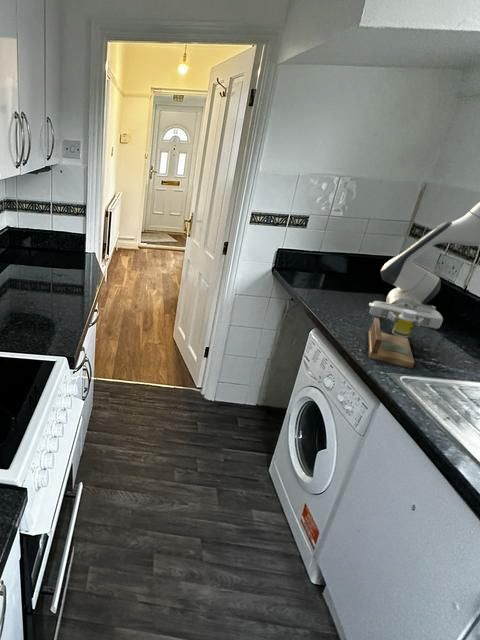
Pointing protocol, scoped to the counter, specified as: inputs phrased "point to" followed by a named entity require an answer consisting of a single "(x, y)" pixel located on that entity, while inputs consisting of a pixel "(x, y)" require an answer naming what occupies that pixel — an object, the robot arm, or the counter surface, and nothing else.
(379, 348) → the oak shelf
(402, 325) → the supplement bottle
